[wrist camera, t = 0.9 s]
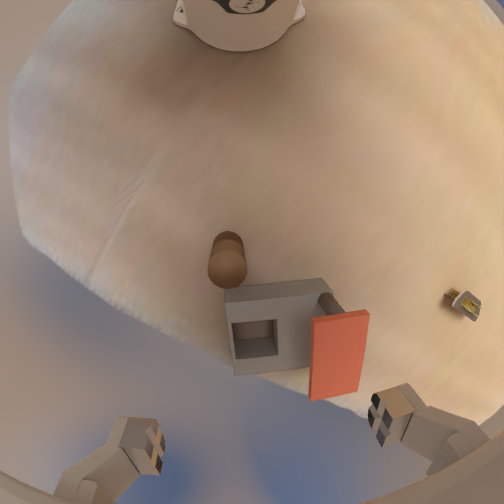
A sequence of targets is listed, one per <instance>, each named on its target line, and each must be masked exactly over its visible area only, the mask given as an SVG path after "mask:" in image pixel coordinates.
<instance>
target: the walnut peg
mask: <svg viewBox="0 0 504 504" xmlns="http://www.w3.org/2000/svg"><path fill="white" fill-rule="evenodd" d="M246 274H247V266H246V260H245V254H244V248H243V243H242V240H241V238H240V237H239V236H238V235H237V234H236V233H234V232H229V231H226V232H222V233H220V234H219V235H218V236H217V237H216V238H215V240H214V243H213V247H212V251H211V256H210V260H209V264H208V275H209V278H210V280H211V281H212V282H213V283H214V284H215V285H216V286H218V287H220V288H224V289H230V288H234V287H237V286H238V285H240V284H241V283H242V282H243V281H244V279H245V277H246Z"/></svg>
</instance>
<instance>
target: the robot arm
mask: <svg viewBox="0 0 504 504" xmlns="http://www.w3.org/2000/svg"><path fill="white" fill-rule="evenodd" d="M182 11H183V13H181V12H182ZM305 14H306V11H305V9H304V7H303V4H302V2H301V0H178V2H177V5H176V8H175V12H174V15H173V21H174V23H175V24H176V25H178V26H181V27H184V28H187V29H189V30H191V31H192V32H193V33H194V34H195V35H196V36H197V37H198V38H200V39H201V40H202V41H204V42H205V43H207V44H209V45H211V46H213V47H216V48H219V49H222V50H227V51H239V52H240V51H252V50H257V49H260V48H264V47H266V46H268V45H270V44H272V43H274V42H276V41H277V40H278V39H279V38H281V37H282V36H283V34H284V33H285V32H286V31H287V29H288V28H289V27H290V26H291V25H292V24H295V23H297V22H299V21H301V20H302V19H303V18H304V17H305ZM371 402H372V403H373V404H372V405H371V406H370V407H369V410H368V421H369V424H370V426H371V428H372V429H373V430H375V431H377V434H376V438H377V440H378V442H379V444H380V445H381V447H382V448H383V447H386V446H390V445H393V444H396V443H398V442H401V443H402V444H404V445H405V446H407V447H409V448H410V449H412V450H414V451H415V452H417V453H419V454H420V455H422V456H424V457H426V458H428V459H429V460H431V461H433V463H432V464H431V466H430V467H429V468H428V470H427V472H426V474H427V476H428V477H426V478H424V479H422V480H420V481H418V482H416V483H413V484H411V485H409V486H407V487H404V488H402V489H399V490H397V491H395V492H392V493H390V494H387V495H384V496H382V497H379V498H376V499H373V500H370V501H367V502H364V503H361V504H504V430H503V431H501V432H500V433H499V434H497V435H496V436H495V437H493V438H492V439H489V438H488V437H487V436H486V434H485V433H484V432H483V431H482V430H481V428H480V427H479V426H478V425H477V424H476V422H475V421H472V420H469V419H466V418H463V417H460V416H457V415H454V414H451V413H448V412H446V411H443V410H440V409H437V408H435V407H432V406H428V407H427V406H426V405H425V403H424V402H423V401H422V399H421V398H420V397H419V396H418V394H417V393H416V392H415V391H414V389H413V388H412V387H411V386H410V384H408V383H405V384H402V385H399V386H396V387H393V388H390V389H386V390H383V391H380V392H376V393H374V394H373V395H372V398H371ZM158 426H159V424H158V422H157V420H156V419H149V418H136V417H125V416H118V417H117V418H116V420H115V422H114V425H113V427H112V430H111V433H110V435H109V438H108V440H107V443H106V445H101V446H100V447H99V448H97V449H96V450H94V451H93V452H92V453H90V454H89V455H87V456H86V457H84V458H83V459H81V460H80V461H78V462H77V463H76V464H74V465H73V466H71V467H70V468H68V469H67V470H65V471H64V472H63V473H62V475H61V477H60V480H59V482H58V485H57V487H56V490H55V492H54V495H51V494H49V493H46V492H44V491H41V490H39V489H37V488H34V487H32V486H30V485H28V484H26V483H23V482H21V481H19V480H17V479H15V478H13V477H11V476H9V475H7V474H6V473H4V472H2V471H0V504H116V503H115V502H114V501H115V500H116V499H117V498H118V497H119V496H120V495H121V494H122V493H123V492H124V491H125V490H126V489H127V488H128V487H129V486H130V485H131V484H132V483H133V482H134V480H135V479H136V478H137V477H138V476H139V475H140V474H149V475H161V469H162V463H163V462H162V460H161V458H160V457H161V456H162V455H163V454H164V453H165V439H164V435H163V433H162V432H161V431H160V430H158Z"/></svg>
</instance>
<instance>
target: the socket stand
mask: <svg viewBox="0 0 504 504" xmlns="http://www.w3.org/2000/svg"><path fill="white" fill-rule="evenodd" d="M225 310H226V318H227V325H228V333H229V340H230V348H231V355H232V362H233V369H234V375H236V376H237V375H248V374H258V373H267V372H275V371H283V370H290V369H297V368H304V367H310V377H309V394H308V395H309V398H310V401H314V400H320V399H325V398H330V397H334V396H339V395H344V394H348V393H352V392H356V391H358V386H359V380H360V375H361V370H362V364H363V358H364V352H365V345H366V338H367V331H368V324H369V315H370V314H369V313H368V312H367V311H366V310H359V311H353V312H347V313H346V312H345V311H344V310H343V309H342V307H341V306H340V305H339V304H338V302H337V301H336V300H335V298H334V297H333V291H332V290H331V289H330V287H329V286H328V285H327V284H326V283H325V281H324V280H323V279H322V278H317V279H308V280H299V281H290V282H280V283H271V284H261V285H250V286H240V287H234V288H230V289H225ZM271 319H273V333H274V337H266V338H257V339H246V340H235V337H234V329H233V323H241V322H252V321H262V320H271Z"/></svg>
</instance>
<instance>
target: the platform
mask: <svg viewBox="0 0 504 504" xmlns="http://www.w3.org/2000/svg"><path fill="white" fill-rule="evenodd" d="M453 290H454V289H453V288H452V290H451V292H450V294H449V296H451V297H453V299H452V298H451V297H449V296H448V295H446V294H445V293H444V294H445V295H446V296H447V297H449V298H450V299H452V300H453V301H454V302H453V303H452V307H454V308H455V309H457V310H458V311H460V312H461V313H463V314H464V315H465V316H467V317H468V318H470V319H471V320H473V321H476V319H477V318H478V316H479V311H480V309H482V308H480V306H481V302H480V301H479V300H478V299H477V298H476V297H475V296H473V295H472V294H471V293H470V292H469V291H467V290H463V291H462V292H461V293H459V292H457V291H456V290H454V291H453ZM452 292H453V293H452ZM454 293H455V294H454ZM457 293H458V294H457ZM451 294H452V295H451ZM456 294H457V295H456ZM453 295H454V296H453ZM455 296H456V297H455ZM454 298H455V299H454ZM464 299H465V300H464ZM463 301H464V302H463ZM462 302H463V303H462ZM470 302H471V303H470ZM464 303H465V304H464ZM472 303H473V304H472ZM466 304H467V305H466ZM469 304H470V305H469ZM474 304H475V305H474ZM462 305H463V306H462ZM468 305H469V306H468ZM471 305H472V306H471ZM465 306H466V307H465ZM470 306H471V307H470ZM473 306H474V307H473ZM472 307H473V308H472ZM468 309H469V310H468ZM471 309H472V310H471Z"/></svg>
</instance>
